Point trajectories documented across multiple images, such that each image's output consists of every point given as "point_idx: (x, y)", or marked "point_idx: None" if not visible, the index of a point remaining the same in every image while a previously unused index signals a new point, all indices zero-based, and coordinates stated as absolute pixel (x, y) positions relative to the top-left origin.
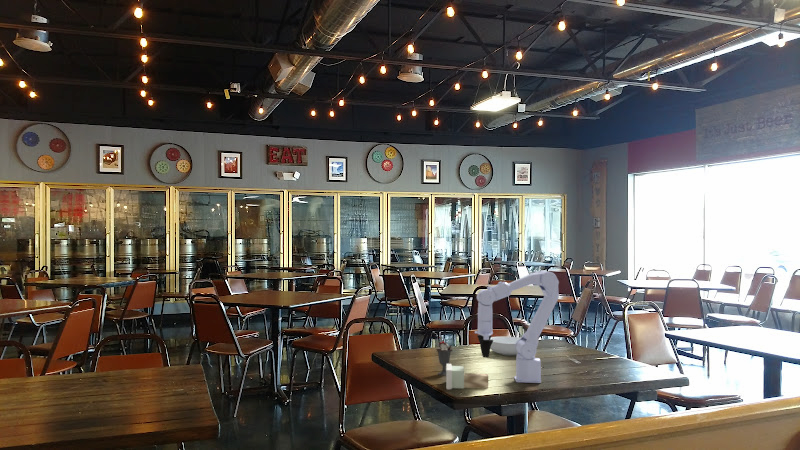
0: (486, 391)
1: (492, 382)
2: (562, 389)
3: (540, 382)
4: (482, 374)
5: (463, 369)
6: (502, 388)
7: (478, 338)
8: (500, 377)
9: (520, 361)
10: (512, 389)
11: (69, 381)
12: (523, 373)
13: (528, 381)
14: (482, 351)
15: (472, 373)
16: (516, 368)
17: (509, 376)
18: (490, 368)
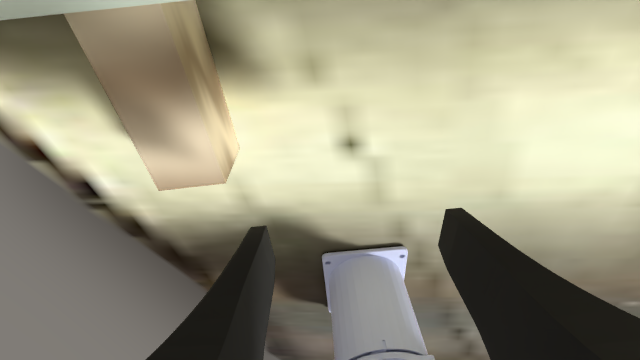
0: (111, 148)
1: (306, 169)
2: (271, 341)
3: (328, 309)
4: (188, 157)
5: (31, 11)
6: (207, 209)
7: (592, 354)
8: (411, 198)
9: (345, 348)
10: (209, 241)
11: None
12: (333, 302)
13: (327, 286)
14: (225, 273)
15: (186, 87)
16: (368, 296)
17: (430, 229)
18: (617, 151)
